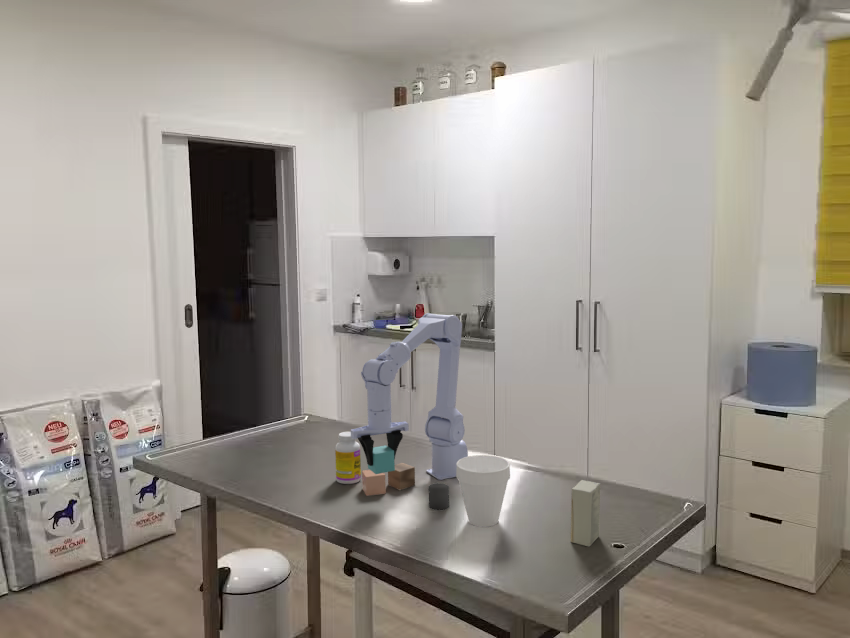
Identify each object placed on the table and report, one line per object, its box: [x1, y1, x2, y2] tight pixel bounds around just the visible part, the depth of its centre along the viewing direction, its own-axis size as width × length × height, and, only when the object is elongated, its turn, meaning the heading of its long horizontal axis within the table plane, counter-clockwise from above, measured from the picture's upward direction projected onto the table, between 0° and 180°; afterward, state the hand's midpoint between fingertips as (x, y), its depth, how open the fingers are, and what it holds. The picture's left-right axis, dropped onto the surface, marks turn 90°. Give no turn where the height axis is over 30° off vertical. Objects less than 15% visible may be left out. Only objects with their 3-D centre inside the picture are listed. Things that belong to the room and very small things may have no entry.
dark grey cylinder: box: [427, 482, 450, 511], centre depth 175 cm, size 5×5×5 cm
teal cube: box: [367, 445, 396, 474], centre depth 177 cm, size 5×5×5 cm
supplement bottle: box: [334, 431, 362, 485], centre depth 193 cm, size 7×7×13 cm
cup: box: [455, 454, 511, 528], centre depth 165 cm, size 12×12×14 cm
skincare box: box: [570, 479, 601, 547], centre depth 154 cm, size 6×4×12 cm
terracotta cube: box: [361, 469, 387, 497], centre depth 185 cm, size 5×5×5 cm
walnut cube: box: [387, 462, 416, 491], centre depth 189 cm, size 5×5×5 cm
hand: (380, 462), depth 177 cm, fingers closed on teal cube, 5 cm apart
